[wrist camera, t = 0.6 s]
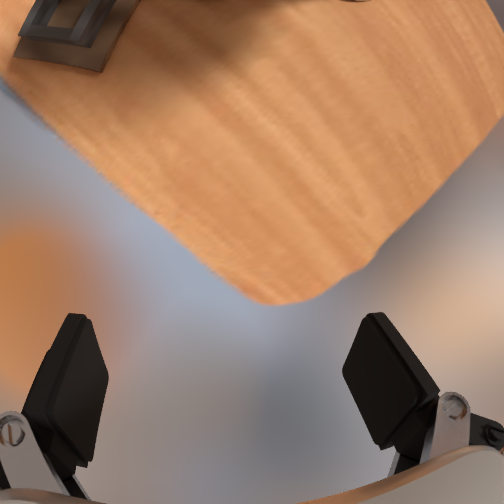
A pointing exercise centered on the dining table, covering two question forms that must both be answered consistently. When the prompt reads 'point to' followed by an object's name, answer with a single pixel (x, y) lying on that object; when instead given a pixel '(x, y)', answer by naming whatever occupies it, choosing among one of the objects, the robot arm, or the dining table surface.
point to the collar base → (74, 31)
